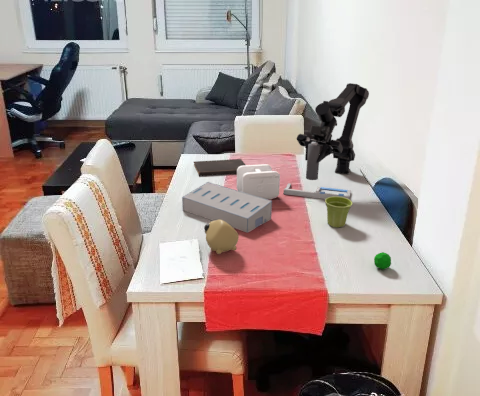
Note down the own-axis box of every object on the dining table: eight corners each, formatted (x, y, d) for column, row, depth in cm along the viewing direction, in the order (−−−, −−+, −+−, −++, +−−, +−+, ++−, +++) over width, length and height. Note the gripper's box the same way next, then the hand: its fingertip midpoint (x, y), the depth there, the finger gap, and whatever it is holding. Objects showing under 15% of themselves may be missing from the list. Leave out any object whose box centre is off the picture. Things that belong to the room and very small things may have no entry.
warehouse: (182, 211, 186) (182, 192, 183) (207, 199, 196) (207, 181, 194) (247, 233, 169) (247, 213, 166) (271, 220, 180) (272, 200, 177)
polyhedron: (387, 263, 151) (389, 249, 149) (392, 272, 147) (394, 257, 145) (371, 263, 151) (373, 249, 149) (375, 272, 146) (377, 257, 145)
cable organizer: (271, 190, 207) (272, 163, 202) (279, 199, 197) (280, 171, 193) (236, 192, 203) (236, 165, 199) (242, 202, 194) (243, 174, 189)
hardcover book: (193, 166, 235) (193, 161, 234) (241, 163, 240) (241, 158, 239) (199, 177, 221) (198, 172, 220) (249, 174, 226) (249, 169, 225)
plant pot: (351, 220, 180) (354, 198, 176) (347, 231, 171) (350, 208, 168) (325, 217, 182) (327, 194, 179) (320, 227, 174) (322, 204, 171)
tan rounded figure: (227, 239, 164) (227, 209, 160) (243, 255, 154) (244, 224, 150) (199, 244, 160) (198, 214, 156) (214, 261, 150) (213, 229, 146)
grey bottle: (306, 175, 206) (308, 140, 201) (317, 176, 206) (320, 141, 200) (305, 179, 202) (308, 143, 196) (317, 180, 201) (320, 144, 196)
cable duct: (288, 184, 213) (289, 178, 212) (350, 191, 207) (351, 185, 206) (283, 193, 203) (283, 188, 202) (348, 201, 196) (349, 195, 195)
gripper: (300, 114, 202) (284, 146, 198) (342, 121, 193) (327, 155, 188) (307, 129, 211) (293, 160, 207) (349, 136, 202) (334, 169, 197)
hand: (311, 161), depth 200 cm, fingers closed on grey bottle, 5 cm apart
